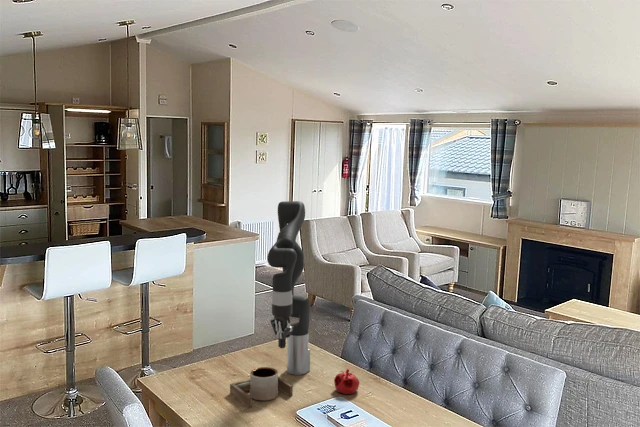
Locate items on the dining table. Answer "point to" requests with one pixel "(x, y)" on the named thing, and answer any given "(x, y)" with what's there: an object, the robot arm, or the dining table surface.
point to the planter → (264, 383)
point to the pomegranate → (346, 382)
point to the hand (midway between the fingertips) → (281, 347)
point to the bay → (240, 387)
